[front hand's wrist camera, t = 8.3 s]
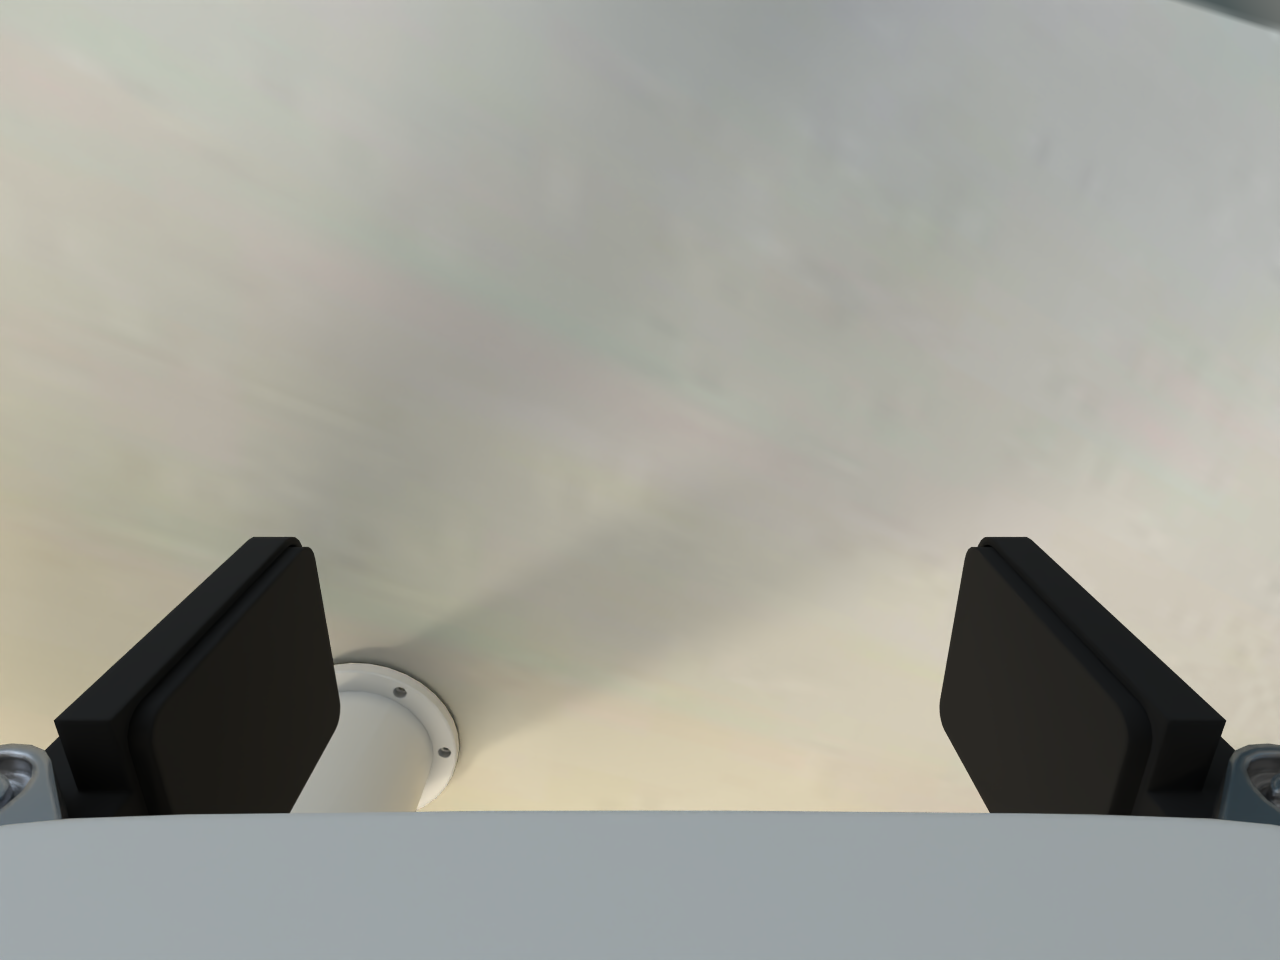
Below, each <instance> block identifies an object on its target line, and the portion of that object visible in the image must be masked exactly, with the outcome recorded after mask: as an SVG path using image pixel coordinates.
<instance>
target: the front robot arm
mask: <svg viewBox="0 0 1280 960" xmlns="http://www.w3.org/2000/svg"><path fill="white" fill-rule="evenodd" d="M940 717H941V722H942V726H943V728H944V730H945V732H946V734H947V736H948V737H949V739H950V741H951V743H952V745H953V747H954V748H955V750H956V752H957V754H958V756H959V757H960V759H961V761H962V763H963V765H964V767H965V768H966V770H967V772H968V774H969V776H970V777H971V779H972V781H973V783H974V785H975V787H976V788H977V790H978V792H979V794H980V796H981V797H982V799H983V801H984V803H985V805H986V807H987V808H988V810H989V812H990V813H915V812H804V811H450V812H416V810H418V809H421V808H423V807H425V806H426V805H428V804H429V803H430V802H432V801H433V800H435V799H436V798H437V797H438V796H439V795H440V794H441V793H442V791H443V790H444V789H445V788H446V787H447V785H448V783H449V781H450V779H451V778H452V776H453V773H454V770H455V767H456V763H457V760H458V753H459V740H458V732H457V729H456V726H455V723H454V720H453V718H452V717H451V715H450V713H449V711H448V710H447V708H446V706H445V705H444V704H443V703H442V702H441V701H440V699H439V698H438V697H437V696H436V695H435V694H434V693H433V692H432V691H430V690H429V689H428V688H427V687H425V686H424V685H423V684H422V683H420V682H419V681H417V680H415V679H413V678H411V677H410V676H408V675H406V674H404V673H401V672H398V671H396V670H393V669H390V668H388V667H383V666H378V665H373V664H364V663H346V664H337V665H334V664H333V658H332V652H331V647H330V641H329V635H328V630H327V624H326V618H325V612H324V607H323V601H322V595H321V590H320V584H319V578H318V572H317V567H316V561H315V557H314V553H313V551H312V549H310V548H309V547H302V545H301V543H300V541H299V540H298V539H297V538H295V537H253V538H251V539H249V540H248V541H247V542H246V543H245V544H244V545H242V546H241V547H240V548H239V549H238V550H237V551H236V552H235V553H234V554H233V555H232V556H231V557H230V558H228V559H227V560H226V561H225V562H224V563H223V564H222V565H221V566H220V567H219V568H218V569H217V570H216V571H214V572H213V573H212V574H211V575H210V576H209V577H208V578H207V579H206V580H205V581H204V582H203V583H202V584H200V585H199V586H198V587H197V588H196V589H195V590H194V591H193V592H192V593H191V594H190V595H189V596H188V597H186V598H185V599H184V600H183V601H182V602H181V603H180V604H179V605H178V606H177V607H176V608H175V609H174V610H172V611H171V612H170V613H169V614H168V615H167V616H166V617H165V618H164V619H163V620H162V621H161V622H160V623H158V624H157V625H156V626H155V627H154V628H153V629H152V630H151V631H150V632H149V633H148V634H147V635H146V636H144V637H143V638H142V639H141V640H140V641H139V642H138V643H137V644H136V645H135V646H134V647H133V648H132V649H130V650H129V651H128V652H127V653H126V654H125V655H124V656H123V657H122V658H121V659H120V660H119V661H117V662H116V663H115V664H114V665H113V666H112V667H111V668H110V669H109V670H108V671H107V672H106V673H105V674H103V675H102V676H101V677H100V678H99V679H98V680H97V681H96V682H95V683H94V684H93V685H92V686H91V687H89V688H88V689H87V690H86V691H85V692H84V693H83V694H82V695H81V696H80V697H79V698H78V699H77V700H75V701H74V702H73V703H72V704H71V705H70V706H69V707H68V708H67V709H66V710H65V711H64V712H63V713H61V714H60V715H59V716H58V717H57V718H56V719H55V720H54V723H55V726H56V728H57V731H58V734H59V737H58V738H57V739H56V740H55V741H54V742H53V743H52V744H51V745H50V746H49V747H48V748H47V749H46V750H42V749H40V748H38V747H35V746H33V745H26V744H5V745H0V960H1280V745H1275V744H1254V745H1247V746H1245V747H1242V748H1240V749H1238V750H1234V749H1233V748H1232V747H1231V746H1230V745H1229V744H1228V743H1227V742H1226V741H1225V740H1224V739H1223V738H1222V737H1221V734H1222V731H1223V728H1224V726H1225V723H1226V720H1225V719H1224V718H1223V717H1222V716H1221V715H1220V714H1219V713H1217V712H1216V711H1215V710H1214V709H1213V708H1212V707H1211V706H1210V705H1209V704H1208V703H1207V702H1206V701H1205V700H1203V699H1202V698H1201V697H1200V696H1199V695H1198V694H1197V693H1196V692H1195V691H1194V690H1193V689H1192V688H1191V687H1189V686H1188V685H1187V684H1186V683H1185V682H1184V681H1183V680H1182V679H1181V678H1180V677H1179V676H1178V675H1177V674H1175V673H1174V672H1173V671H1172V670H1171V669H1170V668H1169V667H1168V666H1167V665H1166V664H1165V663H1164V662H1163V661H1161V660H1160V659H1159V658H1158V657H1157V656H1156V655H1155V654H1154V653H1153V652H1152V651H1151V650H1150V649H1148V648H1147V647H1146V646H1145V645H1144V644H1143V643H1142V642H1141V641H1140V640H1139V639H1138V638H1137V637H1136V636H1134V635H1133V634H1132V633H1131V632H1130V631H1129V630H1128V629H1127V628H1126V627H1125V626H1124V625H1123V624H1122V623H1120V622H1119V621H1118V620H1117V619H1116V618H1115V617H1114V616H1113V615H1112V614H1111V613H1110V612H1109V611H1108V610H1106V609H1105V608H1104V607H1103V606H1102V605H1101V604H1100V603H1099V602H1098V601H1097V600H1096V599H1095V598H1094V597H1092V596H1091V595H1090V594H1089V593H1088V592H1087V591H1086V590H1085V589H1084V588H1083V587H1082V586H1081V585H1080V584H1078V583H1077V582H1076V581H1075V580H1074V579H1073V578H1072V577H1071V576H1070V575H1069V574H1068V573H1067V572H1066V571H1064V570H1063V569H1062V568H1061V567H1060V566H1059V565H1058V564H1057V563H1056V562H1055V561H1054V560H1053V559H1052V558H1050V557H1049V556H1048V555H1047V554H1046V553H1045V552H1044V551H1043V550H1042V549H1041V548H1040V547H1039V546H1038V545H1036V544H1035V543H1034V542H1033V541H1032V540H1031V539H1029V538H1027V537H985V538H983V539H982V540H981V541H980V543H979V545H978V547H971V548H970V549H968V551H967V553H966V557H965V561H964V567H963V572H962V578H961V584H960V590H959V595H958V601H957V607H956V612H955V618H954V624H953V630H952V635H951V641H950V647H949V652H948V658H947V664H946V669H945V675H944V681H943V687H942V692H941V698H940Z"/></svg>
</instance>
